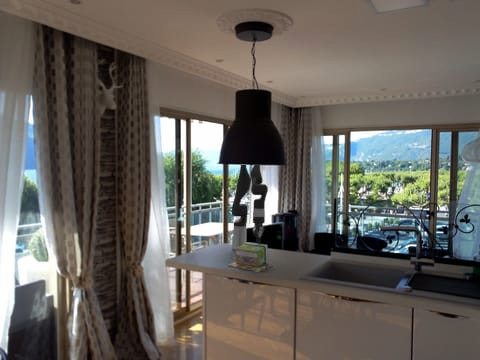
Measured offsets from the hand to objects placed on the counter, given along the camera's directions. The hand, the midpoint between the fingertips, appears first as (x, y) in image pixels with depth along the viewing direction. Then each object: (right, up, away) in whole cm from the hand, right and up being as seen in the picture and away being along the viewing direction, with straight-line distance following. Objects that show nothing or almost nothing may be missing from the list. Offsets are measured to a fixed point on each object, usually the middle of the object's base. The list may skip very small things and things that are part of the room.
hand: (258, 242), depth 254 cm
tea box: (-1, -5, -2) cm, 5 cm away
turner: (+2, -13, -18) cm, 22 cm away
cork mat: (-7, -12, -11) cm, 18 cm away
